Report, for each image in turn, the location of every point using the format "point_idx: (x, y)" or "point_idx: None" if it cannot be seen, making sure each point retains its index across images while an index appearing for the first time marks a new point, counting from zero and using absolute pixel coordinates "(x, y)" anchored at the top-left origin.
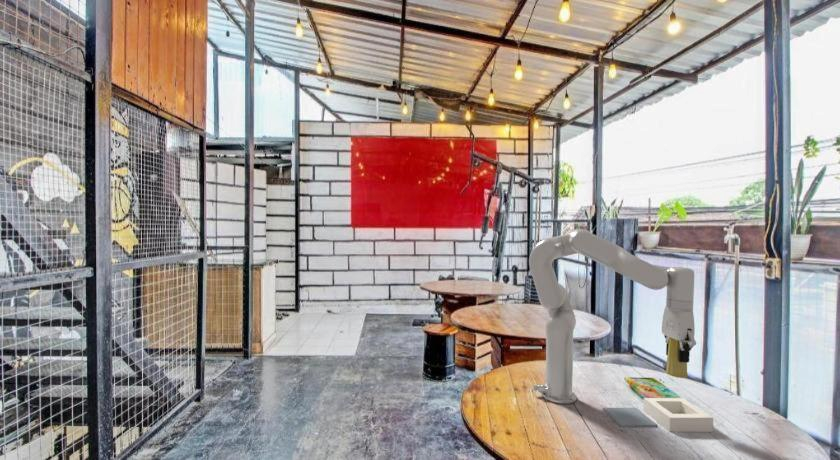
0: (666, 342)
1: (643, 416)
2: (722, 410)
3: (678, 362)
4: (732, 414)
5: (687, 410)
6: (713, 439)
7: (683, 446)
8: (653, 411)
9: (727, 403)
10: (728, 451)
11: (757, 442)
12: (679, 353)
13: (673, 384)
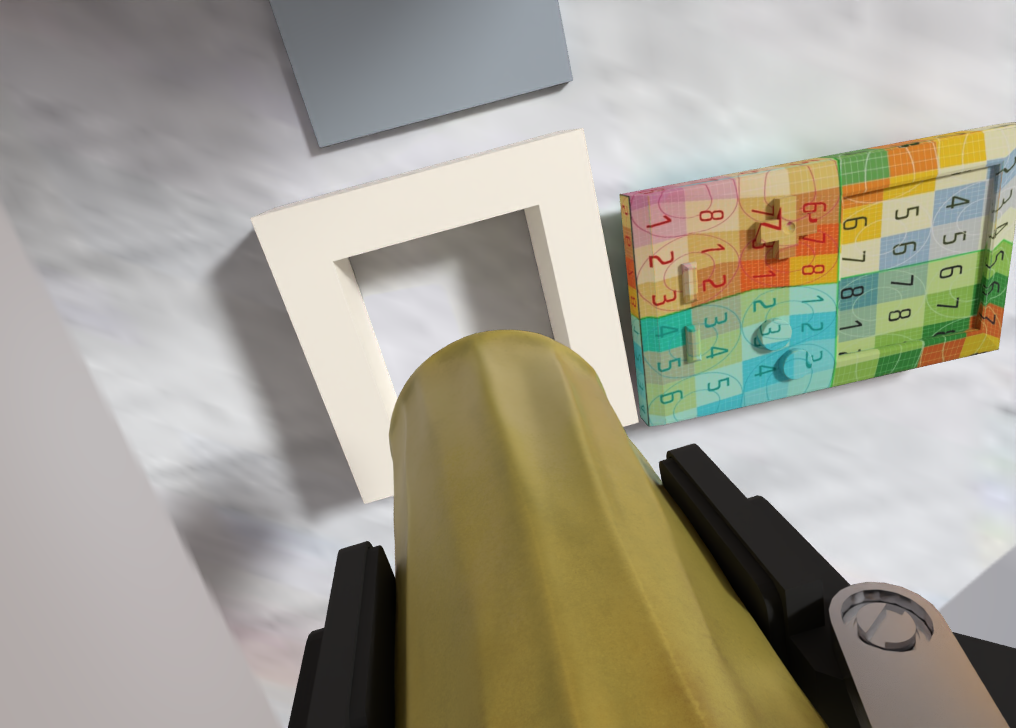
0: (882, 598)
1: (431, 86)
2: None
3: (400, 526)
4: None
5: None
6: (270, 430)
7: (88, 226)
8: (448, 162)
9: None
10: (147, 456)
11: (320, 614)
12: (331, 659)
13: (971, 457)
